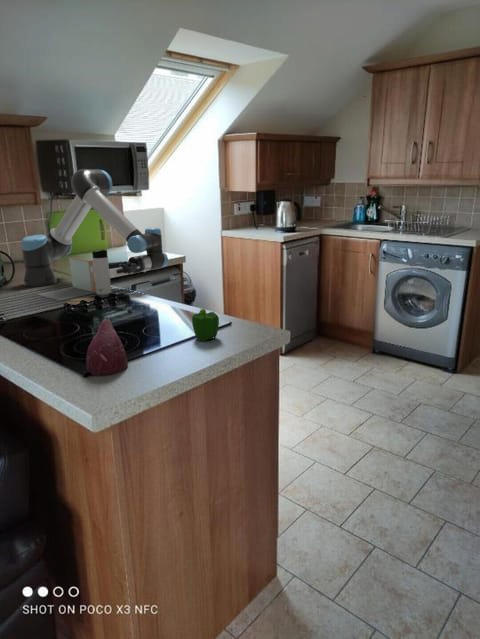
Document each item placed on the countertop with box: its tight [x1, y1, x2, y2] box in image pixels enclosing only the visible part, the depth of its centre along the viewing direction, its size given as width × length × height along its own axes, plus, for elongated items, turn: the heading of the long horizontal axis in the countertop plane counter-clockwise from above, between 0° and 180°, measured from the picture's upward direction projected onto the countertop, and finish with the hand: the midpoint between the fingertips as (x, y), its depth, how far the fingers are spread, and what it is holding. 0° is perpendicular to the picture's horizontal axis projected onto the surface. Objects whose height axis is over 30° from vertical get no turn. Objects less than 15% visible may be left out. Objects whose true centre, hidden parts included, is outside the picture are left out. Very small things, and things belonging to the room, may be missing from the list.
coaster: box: [65, 296, 95, 306], centre depth 190 cm, size 12×12×1 cm
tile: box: [68, 257, 96, 292], centre depth 210 cm, size 2×16×14 cm, turn 51°
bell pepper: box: [191, 308, 220, 341], centre depth 142 cm, size 8×8×10 cm
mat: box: [36, 286, 97, 301], centre depth 208 cm, size 22×20×1 cm
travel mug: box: [91, 249, 112, 296], centre depth 201 cm, size 6×7×20 cm
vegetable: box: [85, 316, 129, 377], centre depth 122 cm, size 10×10×15 cm
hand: (99, 271), depth 199 cm, fingers open, 13 cm apart
